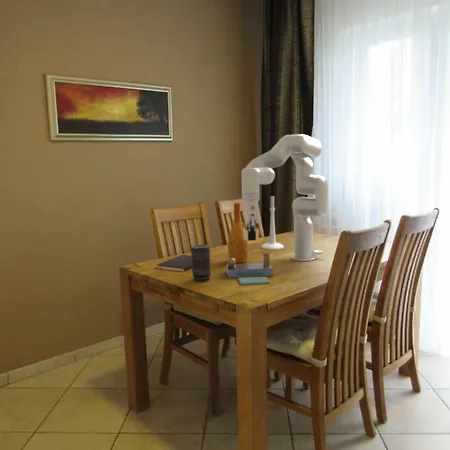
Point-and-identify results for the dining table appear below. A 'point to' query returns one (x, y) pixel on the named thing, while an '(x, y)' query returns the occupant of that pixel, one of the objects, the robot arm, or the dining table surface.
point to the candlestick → (272, 231)
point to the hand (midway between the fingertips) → (251, 238)
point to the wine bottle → (237, 239)
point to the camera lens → (200, 262)
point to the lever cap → (245, 233)
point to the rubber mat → (253, 280)
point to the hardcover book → (177, 263)
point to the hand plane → (249, 268)
